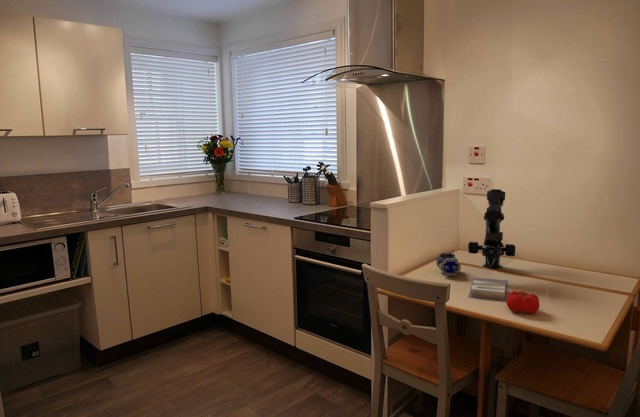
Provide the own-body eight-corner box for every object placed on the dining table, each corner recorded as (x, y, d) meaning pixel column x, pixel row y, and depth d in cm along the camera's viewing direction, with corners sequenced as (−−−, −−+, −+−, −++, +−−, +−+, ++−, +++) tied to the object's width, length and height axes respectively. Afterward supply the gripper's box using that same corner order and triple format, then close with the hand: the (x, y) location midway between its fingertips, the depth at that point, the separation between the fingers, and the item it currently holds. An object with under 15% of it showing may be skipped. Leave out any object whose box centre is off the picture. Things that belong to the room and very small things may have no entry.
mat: (473, 278, 205) (473, 277, 205) (507, 281, 200) (507, 280, 200) (467, 298, 180) (467, 297, 180) (507, 303, 174) (507, 302, 174)
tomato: (537, 318, 160) (538, 300, 159) (503, 313, 165) (504, 295, 164) (540, 309, 168) (541, 291, 167) (507, 304, 173) (508, 287, 172)
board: (473, 279, 192) (471, 288, 181) (505, 282, 187) (504, 292, 176) (473, 287, 192) (471, 296, 181) (504, 290, 188) (504, 299, 177)
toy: (441, 260, 203) (435, 251, 218) (441, 279, 205) (435, 269, 219) (461, 260, 203) (454, 251, 218) (461, 279, 204) (454, 269, 219)
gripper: (469, 223, 201) (466, 255, 193) (516, 225, 194) (515, 258, 186) (470, 237, 209) (467, 268, 201) (515, 240, 202) (514, 272, 194)
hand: (490, 266), depth 195 cm, fingers closed
